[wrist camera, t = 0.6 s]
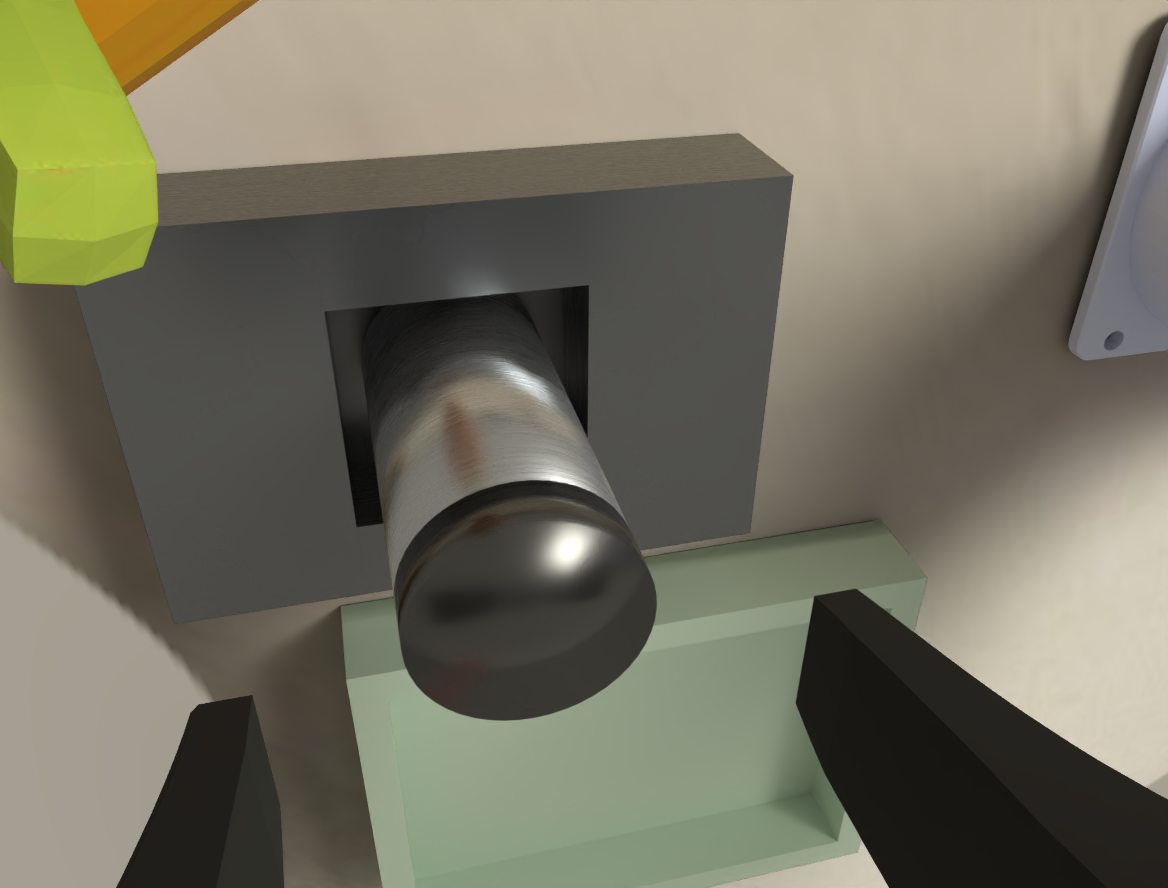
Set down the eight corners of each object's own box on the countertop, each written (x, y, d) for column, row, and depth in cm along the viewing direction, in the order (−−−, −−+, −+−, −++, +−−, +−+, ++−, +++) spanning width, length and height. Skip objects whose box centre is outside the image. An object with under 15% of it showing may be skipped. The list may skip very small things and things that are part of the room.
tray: (880, 519, 27) (927, 578, 25) (823, 788, 33) (858, 852, 31) (340, 606, 24) (346, 679, 22) (387, 883, 30) (395, 960, 28)
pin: (537, 267, 20) (662, 505, 13) (540, 422, 22) (651, 695, 15) (350, 285, 19) (387, 546, 13) (371, 444, 21) (412, 740, 15)
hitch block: (738, 133, 20) (793, 175, 18) (709, 467, 24) (750, 533, 22) (85, 179, 17) (58, 234, 15) (184, 542, 22) (173, 623, 20)
